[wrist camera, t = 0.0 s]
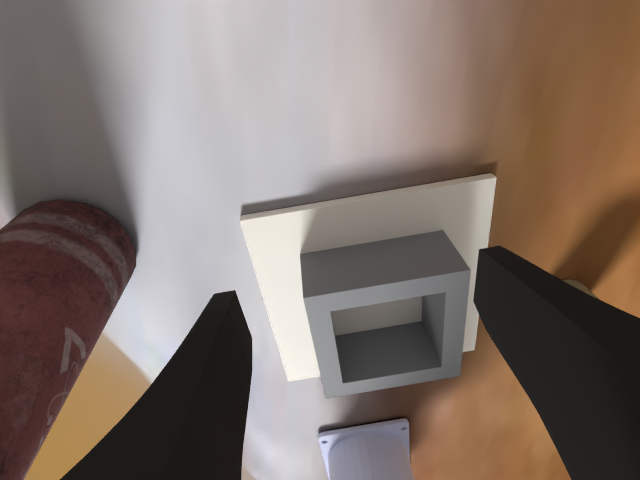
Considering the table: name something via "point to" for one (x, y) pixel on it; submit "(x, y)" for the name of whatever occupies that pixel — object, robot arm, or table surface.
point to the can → (52, 314)
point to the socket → (374, 283)
